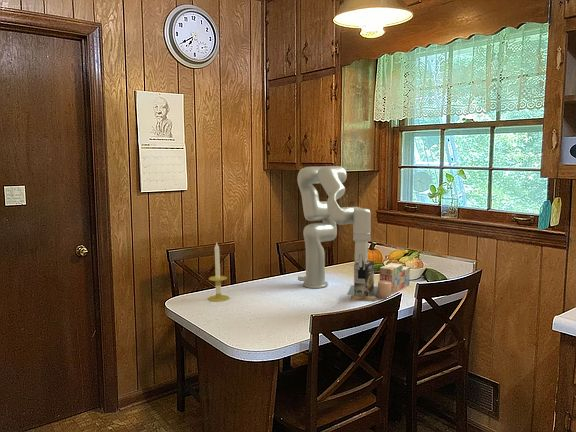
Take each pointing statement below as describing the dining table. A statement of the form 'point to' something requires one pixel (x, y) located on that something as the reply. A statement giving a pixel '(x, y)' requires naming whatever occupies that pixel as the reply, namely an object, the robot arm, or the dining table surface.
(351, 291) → the mat
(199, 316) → the dining table surface
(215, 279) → the candle
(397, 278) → the stack of blocks
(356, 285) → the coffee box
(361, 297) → the stop strip
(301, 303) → the dining table surface
